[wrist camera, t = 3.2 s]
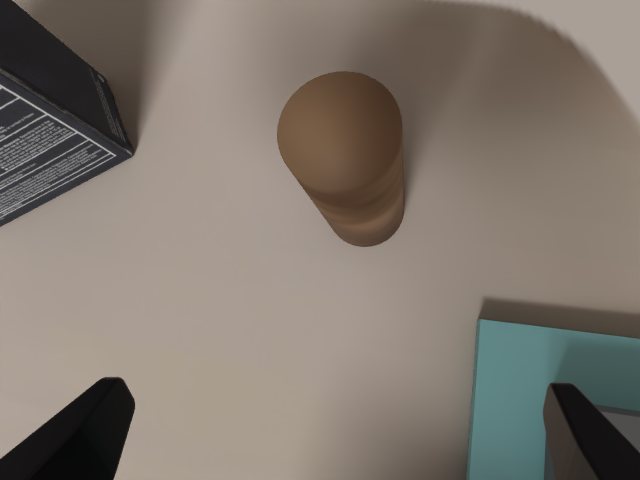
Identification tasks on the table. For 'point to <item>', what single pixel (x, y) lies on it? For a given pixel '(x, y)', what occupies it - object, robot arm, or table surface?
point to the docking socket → (542, 393)
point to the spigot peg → (347, 154)
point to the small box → (50, 117)
